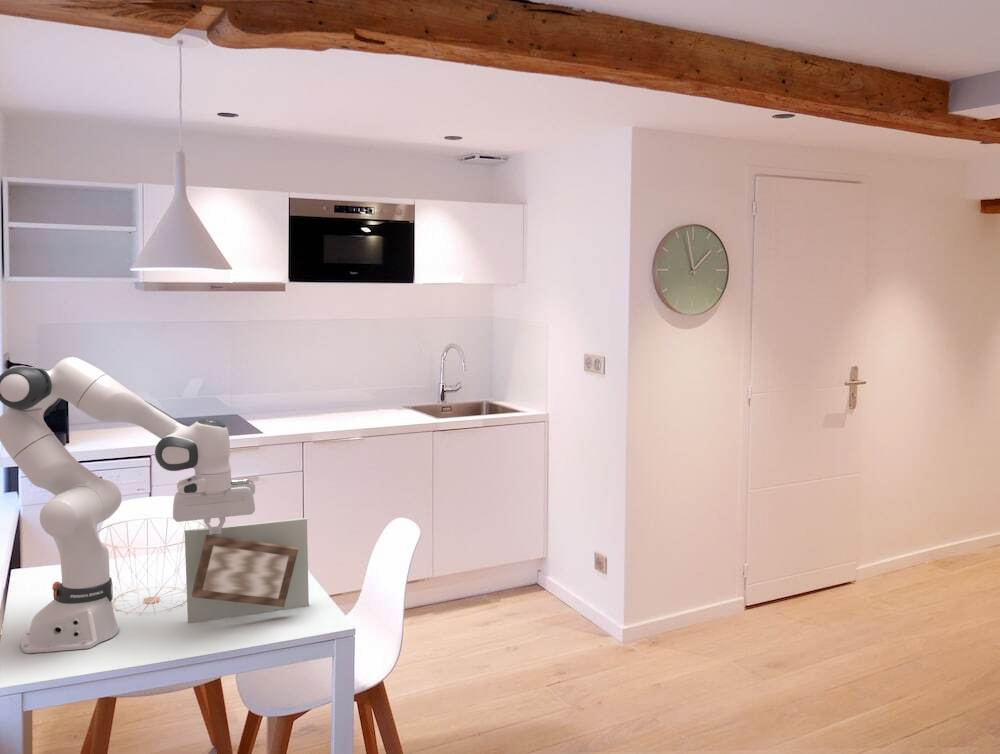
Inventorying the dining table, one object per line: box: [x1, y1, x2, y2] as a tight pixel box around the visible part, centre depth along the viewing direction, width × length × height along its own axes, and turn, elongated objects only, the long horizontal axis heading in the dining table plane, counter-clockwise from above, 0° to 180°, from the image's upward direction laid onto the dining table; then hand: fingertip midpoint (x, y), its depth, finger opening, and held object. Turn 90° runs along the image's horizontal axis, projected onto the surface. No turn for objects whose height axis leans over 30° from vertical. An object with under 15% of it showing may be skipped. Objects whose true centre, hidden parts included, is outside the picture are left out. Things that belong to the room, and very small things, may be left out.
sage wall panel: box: [184, 517, 310, 624], centre depth 235 cm, size 32×6×25 cm, turn 114°
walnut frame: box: [192, 535, 298, 607], centre depth 230 cm, size 24×2×16 cm, turn 115°
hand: (215, 534), depth 226 cm, fingers closed
